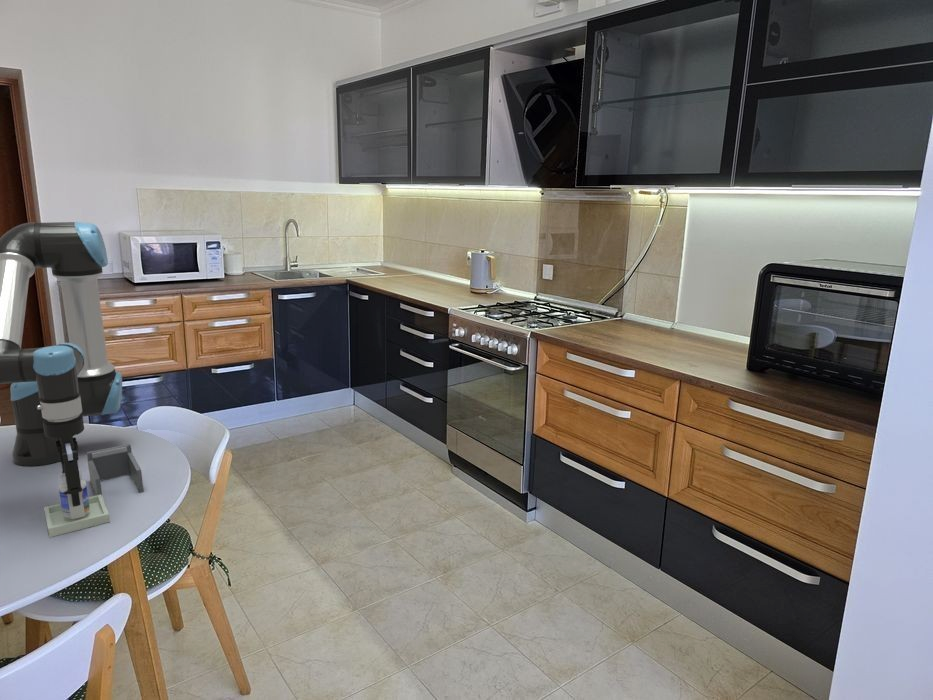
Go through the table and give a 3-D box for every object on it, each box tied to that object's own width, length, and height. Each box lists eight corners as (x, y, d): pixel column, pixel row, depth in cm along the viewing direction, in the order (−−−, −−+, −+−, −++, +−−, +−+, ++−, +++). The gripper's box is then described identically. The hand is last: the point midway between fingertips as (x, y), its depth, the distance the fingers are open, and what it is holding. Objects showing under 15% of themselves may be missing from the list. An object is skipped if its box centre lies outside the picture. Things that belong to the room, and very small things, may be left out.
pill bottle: (77, 520, 143) (71, 480, 140) (56, 517, 144) (50, 477, 141) (95, 508, 148) (90, 470, 145) (75, 505, 149) (70, 467, 146)
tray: (45, 515, 147) (44, 507, 147) (102, 501, 154) (101, 494, 153) (49, 537, 138) (48, 529, 138) (109, 521, 145) (108, 514, 144)
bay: (90, 480, 164) (86, 452, 163) (133, 471, 170) (130, 443, 168) (98, 502, 154) (94, 471, 152) (143, 491, 159) (140, 462, 157)
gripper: (39, 407, 145) (53, 500, 151) (45, 433, 131) (61, 534, 136) (77, 401, 149) (89, 491, 155) (87, 425, 135) (100, 524, 141)
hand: (76, 511), depth 146 cm, fingers closed on pill bottle, 5 cm apart
